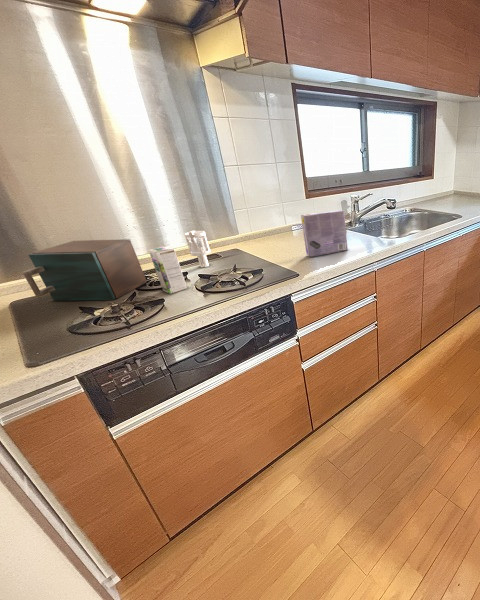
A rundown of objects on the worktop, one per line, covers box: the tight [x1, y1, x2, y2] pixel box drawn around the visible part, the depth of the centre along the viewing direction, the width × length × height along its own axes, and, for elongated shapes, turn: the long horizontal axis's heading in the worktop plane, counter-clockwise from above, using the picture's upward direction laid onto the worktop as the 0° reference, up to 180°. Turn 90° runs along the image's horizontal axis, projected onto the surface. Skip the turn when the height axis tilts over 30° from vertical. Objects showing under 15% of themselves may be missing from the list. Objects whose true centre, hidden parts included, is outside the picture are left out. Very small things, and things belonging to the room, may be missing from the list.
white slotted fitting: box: [183, 230, 211, 268], centre depth 129 cm, size 7×7×15 cm
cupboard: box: [31, 238, 148, 299], centre depth 109 cm, size 14×20×16 cm
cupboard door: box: [21, 252, 116, 302], centre depth 100 cm, size 6×20×16 cm, turn 89°
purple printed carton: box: [300, 210, 349, 258], centre depth 141 cm, size 19×5×18 cm, turn 123°
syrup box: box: [148, 245, 188, 295], centre depth 108 cm, size 6×6×14 cm
